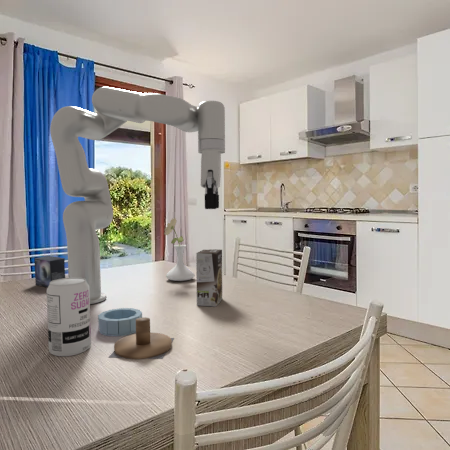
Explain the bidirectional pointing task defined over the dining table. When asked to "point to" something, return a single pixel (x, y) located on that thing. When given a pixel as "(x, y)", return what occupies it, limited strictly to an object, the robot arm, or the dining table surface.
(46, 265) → the small box
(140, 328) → the lid
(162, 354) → the mat
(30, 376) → the dining table surface
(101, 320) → the bowl
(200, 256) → the coffee box
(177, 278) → the flower in vase
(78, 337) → the supplement can
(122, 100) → the robot arm
